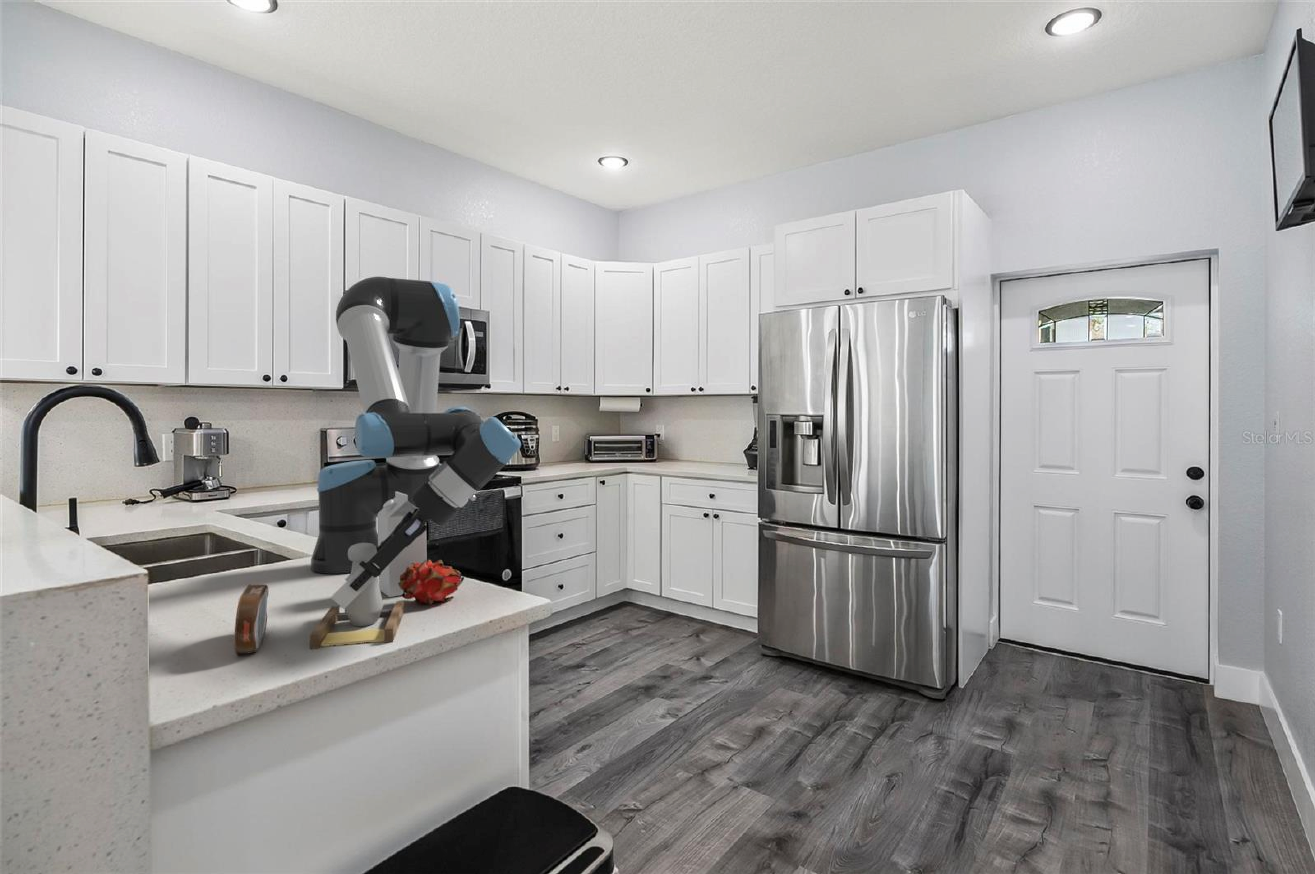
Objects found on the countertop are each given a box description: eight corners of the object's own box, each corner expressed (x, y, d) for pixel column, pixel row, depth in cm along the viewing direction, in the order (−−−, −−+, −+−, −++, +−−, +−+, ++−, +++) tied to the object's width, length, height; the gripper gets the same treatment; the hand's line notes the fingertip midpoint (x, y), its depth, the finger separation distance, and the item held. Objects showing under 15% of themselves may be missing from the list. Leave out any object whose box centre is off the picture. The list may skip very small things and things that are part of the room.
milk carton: (415, 584, 135) (413, 490, 134) (427, 591, 129) (425, 493, 128) (378, 590, 130) (376, 492, 130) (389, 598, 125) (387, 496, 124)
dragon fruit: (392, 615, 120) (458, 613, 126) (405, 596, 114) (474, 595, 121) (391, 571, 124) (455, 572, 131) (403, 550, 118) (470, 552, 125)
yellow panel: (327, 635, 104) (327, 633, 104) (388, 630, 106) (388, 628, 106) (320, 646, 99) (320, 644, 99) (384, 641, 101) (384, 638, 101)
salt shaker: (369, 630, 107) (366, 550, 106) (337, 626, 108) (334, 548, 107) (390, 616, 113) (388, 541, 111) (360, 613, 114) (357, 538, 112)
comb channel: (331, 618, 113) (331, 606, 113) (403, 612, 116) (403, 601, 116) (310, 648, 98) (309, 635, 98) (393, 641, 101) (392, 628, 101)
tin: (249, 631, 107) (247, 578, 106) (271, 628, 108) (270, 576, 108) (232, 663, 93) (230, 603, 93) (258, 660, 94) (257, 600, 94)
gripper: (457, 520, 102) (349, 630, 99) (461, 500, 125) (373, 589, 122) (420, 487, 101) (309, 597, 98) (431, 473, 123) (341, 562, 120)
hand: (344, 593), depth 110 cm, fingers open, 11 cm apart
